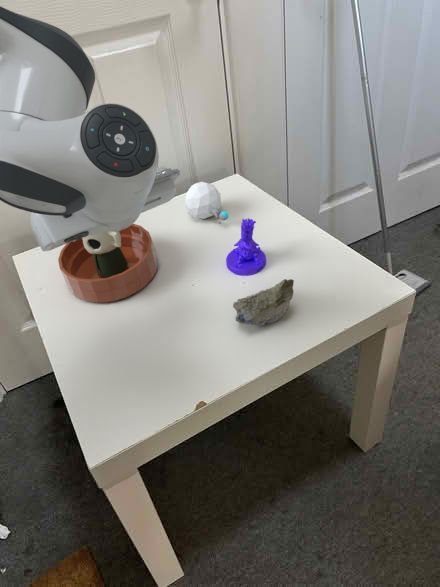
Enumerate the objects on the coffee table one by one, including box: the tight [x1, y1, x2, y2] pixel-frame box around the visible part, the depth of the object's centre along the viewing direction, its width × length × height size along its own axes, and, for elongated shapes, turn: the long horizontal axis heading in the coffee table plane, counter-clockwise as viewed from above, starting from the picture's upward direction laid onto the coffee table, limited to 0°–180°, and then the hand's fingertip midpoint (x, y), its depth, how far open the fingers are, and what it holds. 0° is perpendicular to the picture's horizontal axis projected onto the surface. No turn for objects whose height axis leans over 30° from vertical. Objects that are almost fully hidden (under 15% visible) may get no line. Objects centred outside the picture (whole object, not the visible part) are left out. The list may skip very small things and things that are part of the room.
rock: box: [232, 278, 295, 328], centre depth 78 cm, size 11×6×10 cm
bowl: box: [57, 223, 158, 303], centre depth 91 cm, size 18×18×6 cm
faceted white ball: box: [184, 181, 229, 221], centre depth 101 cm, size 8×8×12 cm
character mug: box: [82, 231, 128, 278], centre depth 88 cm, size 11×7×13 cm, turn 52°
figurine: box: [225, 217, 267, 277], centre depth 88 cm, size 8×8×10 cm
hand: (104, 223), depth 70 cm, fingers open, 8 cm apart
